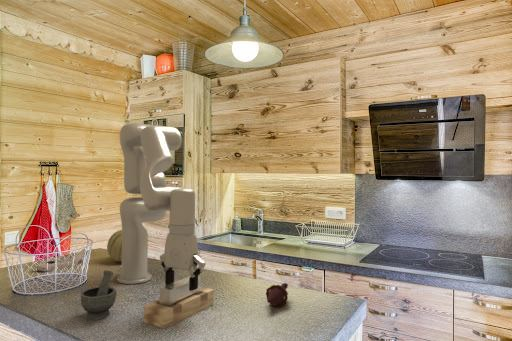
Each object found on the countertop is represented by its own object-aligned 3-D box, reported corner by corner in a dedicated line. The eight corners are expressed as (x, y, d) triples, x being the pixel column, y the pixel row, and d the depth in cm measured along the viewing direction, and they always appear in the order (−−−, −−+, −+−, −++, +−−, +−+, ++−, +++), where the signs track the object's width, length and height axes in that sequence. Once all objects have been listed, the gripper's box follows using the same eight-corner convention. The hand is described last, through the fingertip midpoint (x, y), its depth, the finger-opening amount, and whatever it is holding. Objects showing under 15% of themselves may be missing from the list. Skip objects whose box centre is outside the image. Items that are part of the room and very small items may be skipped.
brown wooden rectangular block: (143, 322, 105) (143, 306, 104) (194, 298, 124) (194, 285, 124) (164, 328, 100) (164, 312, 100) (213, 303, 120) (213, 289, 119)
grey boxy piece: (159, 315, 107) (159, 287, 107) (190, 300, 119) (191, 275, 119) (169, 318, 105) (170, 290, 105) (200, 303, 117) (201, 277, 117)
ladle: (94, 248, 170) (39, 259, 148) (94, 261, 170) (39, 274, 148) (85, 247, 173) (30, 257, 151) (85, 260, 173) (30, 272, 151)
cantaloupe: (116, 257, 178) (116, 225, 178) (145, 258, 177) (146, 226, 177) (100, 265, 163) (100, 231, 163) (132, 266, 162) (132, 232, 162)
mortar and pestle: (103, 323, 103) (103, 280, 103) (72, 320, 105) (73, 278, 105) (124, 308, 114) (124, 269, 114) (96, 306, 116) (97, 267, 116)
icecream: (282, 295, 110) (297, 285, 124) (260, 285, 113) (277, 276, 127) (275, 317, 110) (291, 305, 124) (254, 307, 113) (272, 296, 127)
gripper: (152, 228, 113) (151, 285, 113) (196, 234, 104) (195, 295, 104) (169, 225, 119) (168, 279, 120) (212, 230, 111) (212, 288, 111)
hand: (181, 286), depth 112 cm, fingers open, 9 cm apart
